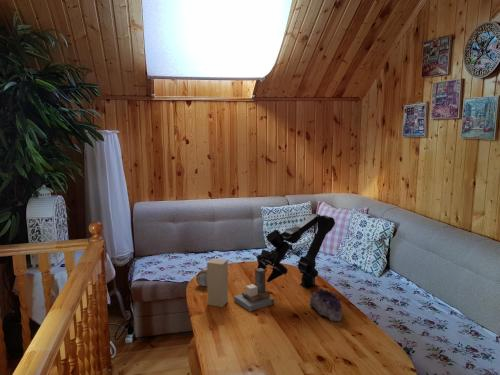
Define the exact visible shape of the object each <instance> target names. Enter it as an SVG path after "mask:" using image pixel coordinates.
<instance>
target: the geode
mask: <svg viewBox="0 0 500 375" xmlns="http://www.w3.org/2000/svg"><path fill="white" fill-rule="evenodd" d="M341 299H342V298H341V297H337V295H336V293H332V292H331V291H328V290H327V289H323V288H319V290H317V291H313V292H312V293H311V296H310V299H309V306H310V307H312V308H313V309H315V312H317V313H318V315H319V316H320V317H325V318H328V320H329V322H331V323H341V322H342V318H343V308H342V303H341Z"/></svg>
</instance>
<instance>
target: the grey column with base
mask: <svg viewBox="0 0 500 375" xmlns="http://www.w3.org/2000/svg"><path fill="white" fill-rule="evenodd" d="M254 285H255V286H257V287H258V295H255V296H252V297H250V296H248V295H247V294H246V290H245V291H242V292H241V294H242V295H243V297H247V298H248V299H250V300H251V302H252V303H253V302H256V301H259V300H262V299H266V298H269V297H270V296H271V293H270V292H268V291H266V269H265V270H264V269H262V268H259V269H257V268H256V269H254Z"/></svg>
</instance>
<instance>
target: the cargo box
mask: <svg viewBox="0 0 500 375" xmlns="http://www.w3.org/2000/svg"><path fill="white" fill-rule="evenodd" d="M245 291H246V294H247V295H248V296H250V297H252V296H255V295H258V287H257V286H255V283H254V284H253V283H251V284H248V285H245Z"/></svg>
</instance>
